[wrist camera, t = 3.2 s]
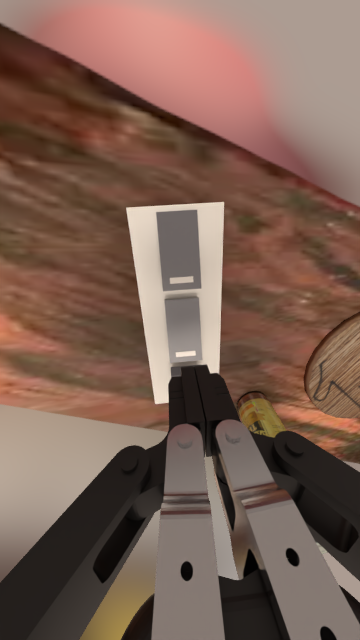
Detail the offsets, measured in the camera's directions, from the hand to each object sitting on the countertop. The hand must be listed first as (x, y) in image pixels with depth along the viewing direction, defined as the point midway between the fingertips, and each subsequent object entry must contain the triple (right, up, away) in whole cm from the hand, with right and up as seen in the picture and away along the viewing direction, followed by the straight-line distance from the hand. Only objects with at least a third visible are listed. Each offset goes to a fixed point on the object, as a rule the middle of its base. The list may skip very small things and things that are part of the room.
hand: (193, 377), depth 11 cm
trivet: (+35, -5, +27) cm, 44 cm away
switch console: (-1, +5, +19) cm, 20 cm away
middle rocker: (0, +2, +14) cm, 14 cm away
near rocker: (-1, +10, +10) cm, 15 cm away
